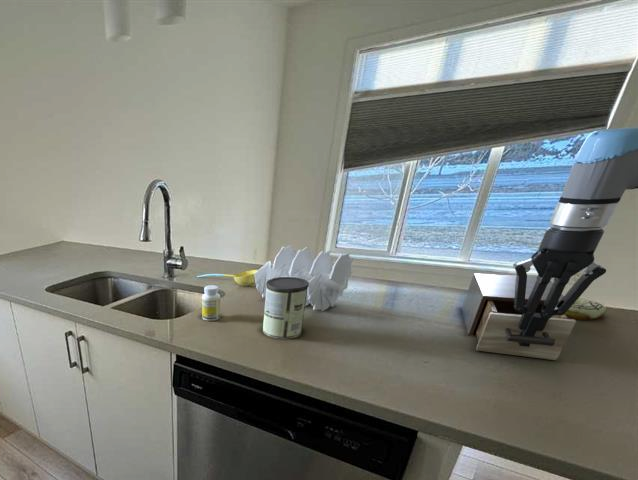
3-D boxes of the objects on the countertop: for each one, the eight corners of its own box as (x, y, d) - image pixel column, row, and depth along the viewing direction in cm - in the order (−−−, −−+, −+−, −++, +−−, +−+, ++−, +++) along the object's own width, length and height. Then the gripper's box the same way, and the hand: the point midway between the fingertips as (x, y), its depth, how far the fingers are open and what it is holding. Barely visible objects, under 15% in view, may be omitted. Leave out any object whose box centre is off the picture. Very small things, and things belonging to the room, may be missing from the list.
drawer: (563, 371, 81) (584, 331, 77) (478, 360, 88) (494, 322, 83) (537, 328, 98) (553, 293, 94) (468, 321, 105) (480, 288, 100)
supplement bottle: (211, 313, 127) (211, 283, 122) (223, 318, 123) (224, 287, 118) (198, 318, 125) (198, 287, 120) (210, 322, 121) (210, 291, 116)
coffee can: (271, 323, 117) (276, 275, 110) (307, 330, 111) (315, 279, 103) (255, 335, 110) (259, 285, 103) (292, 343, 104) (299, 290, 97)
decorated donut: (603, 325, 99) (611, 311, 97) (543, 318, 105) (549, 304, 103) (598, 312, 105) (605, 298, 103) (542, 305, 111) (548, 292, 110)
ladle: (251, 288, 143) (249, 272, 141) (194, 292, 163) (191, 278, 160) (264, 281, 147) (262, 265, 145) (207, 285, 167) (204, 272, 165)
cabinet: (547, 346, 92) (569, 302, 87) (467, 337, 99) (483, 295, 94) (529, 316, 106) (547, 277, 101) (460, 310, 113) (474, 273, 108)
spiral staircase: (273, 305, 140) (345, 318, 122) (245, 295, 129) (319, 308, 110) (290, 252, 136) (366, 257, 118) (262, 237, 125) (342, 241, 107)
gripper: (533, 230, 74) (486, 346, 86) (636, 231, 68) (570, 356, 80) (524, 223, 79) (481, 333, 91) (619, 223, 73) (560, 341, 85)
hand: (523, 343), depth 85 cm, fingers closed
